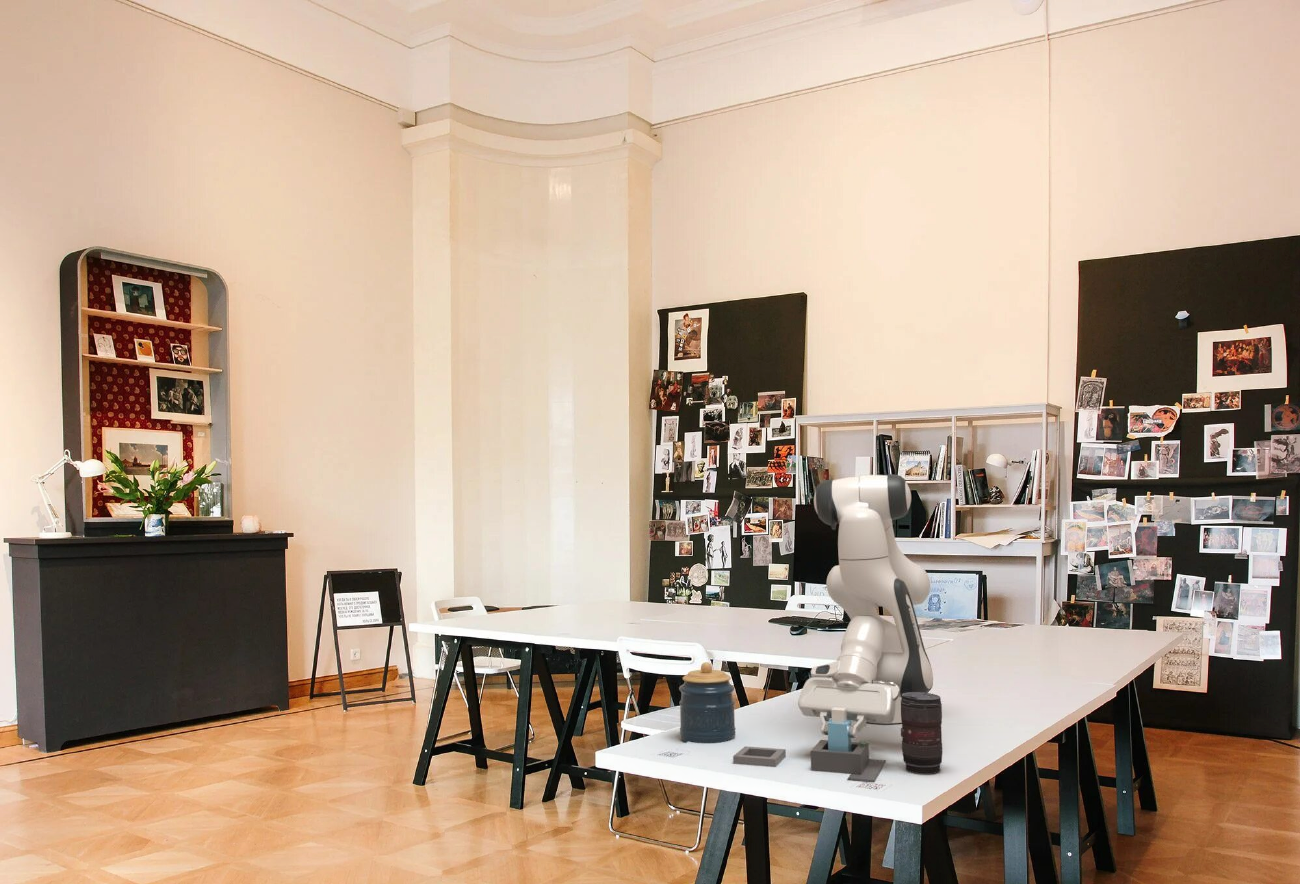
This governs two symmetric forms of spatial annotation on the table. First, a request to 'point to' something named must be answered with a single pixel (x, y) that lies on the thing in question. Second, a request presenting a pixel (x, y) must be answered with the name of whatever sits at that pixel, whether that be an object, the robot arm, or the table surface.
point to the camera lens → (921, 732)
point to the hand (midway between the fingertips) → (838, 735)
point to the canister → (707, 706)
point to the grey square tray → (759, 756)
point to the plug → (839, 731)
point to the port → (847, 761)
